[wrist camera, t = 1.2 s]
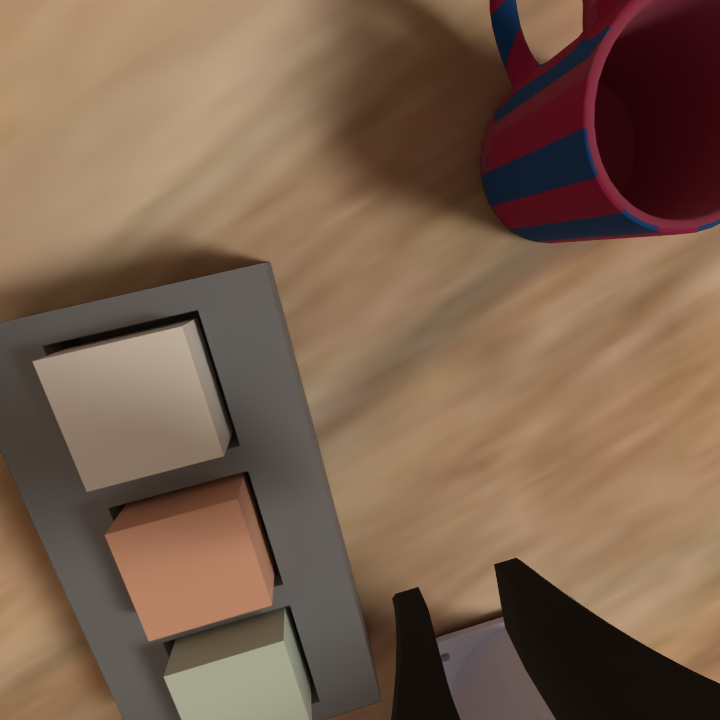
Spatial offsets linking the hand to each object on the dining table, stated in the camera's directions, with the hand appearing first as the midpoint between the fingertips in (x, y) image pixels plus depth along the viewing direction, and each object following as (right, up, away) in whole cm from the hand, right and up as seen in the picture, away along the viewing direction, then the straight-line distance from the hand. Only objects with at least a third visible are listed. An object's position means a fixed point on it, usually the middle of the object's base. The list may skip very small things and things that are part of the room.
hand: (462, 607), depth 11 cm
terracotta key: (-9, 0, +6) cm, 11 cm away
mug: (+5, +16, +7) cm, 18 cm away
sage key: (-7, -6, +7) cm, 12 cm away
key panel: (-9, 0, +8) cm, 12 cm away
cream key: (-10, +5, +5) cm, 12 cm away
